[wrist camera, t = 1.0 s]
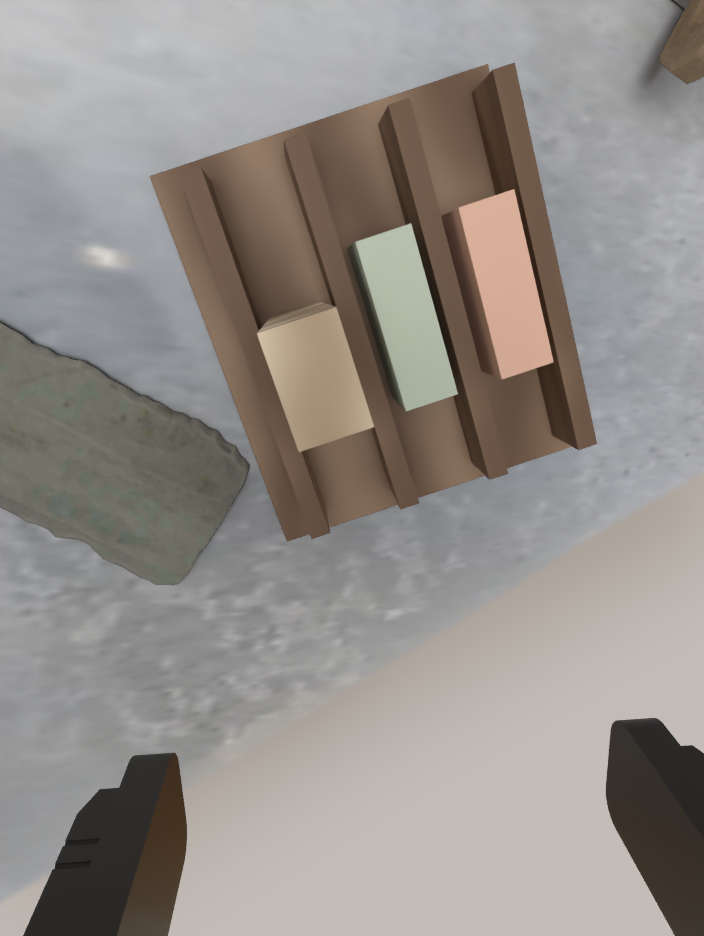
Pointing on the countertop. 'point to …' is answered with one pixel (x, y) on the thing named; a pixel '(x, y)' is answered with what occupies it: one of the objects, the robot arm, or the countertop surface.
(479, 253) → the terracotta offcut
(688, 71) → the tankard
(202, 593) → the countertop surface
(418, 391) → the sage offcut
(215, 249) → the walnut rack
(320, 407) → the tall wooden post
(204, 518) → the stone slab
